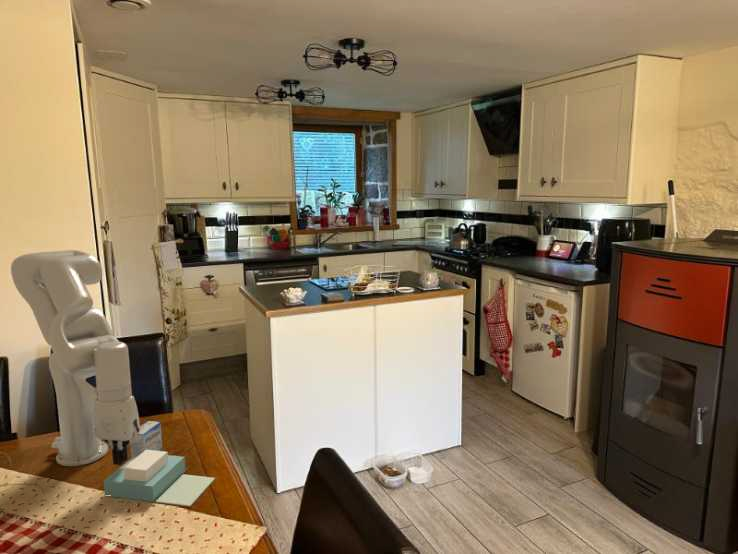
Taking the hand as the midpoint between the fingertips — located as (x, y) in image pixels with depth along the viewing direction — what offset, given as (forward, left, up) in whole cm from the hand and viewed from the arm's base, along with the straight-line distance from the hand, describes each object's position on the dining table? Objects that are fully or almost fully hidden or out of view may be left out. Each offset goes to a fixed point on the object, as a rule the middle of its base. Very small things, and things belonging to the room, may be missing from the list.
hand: (120, 462), depth 128 cm
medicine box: (-2, +13, -6) cm, 14 cm away
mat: (+18, 0, -6) cm, 19 cm away
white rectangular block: (+7, 0, -2) cm, 7 cm away
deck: (+6, +1, -6) cm, 8 cm away
